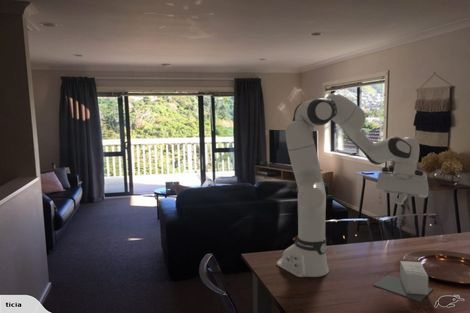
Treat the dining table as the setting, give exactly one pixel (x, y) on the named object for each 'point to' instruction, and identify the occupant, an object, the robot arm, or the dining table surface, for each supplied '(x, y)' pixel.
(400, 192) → the robot arm
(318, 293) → the dining table surface
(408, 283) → the supplement box
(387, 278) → the mat
